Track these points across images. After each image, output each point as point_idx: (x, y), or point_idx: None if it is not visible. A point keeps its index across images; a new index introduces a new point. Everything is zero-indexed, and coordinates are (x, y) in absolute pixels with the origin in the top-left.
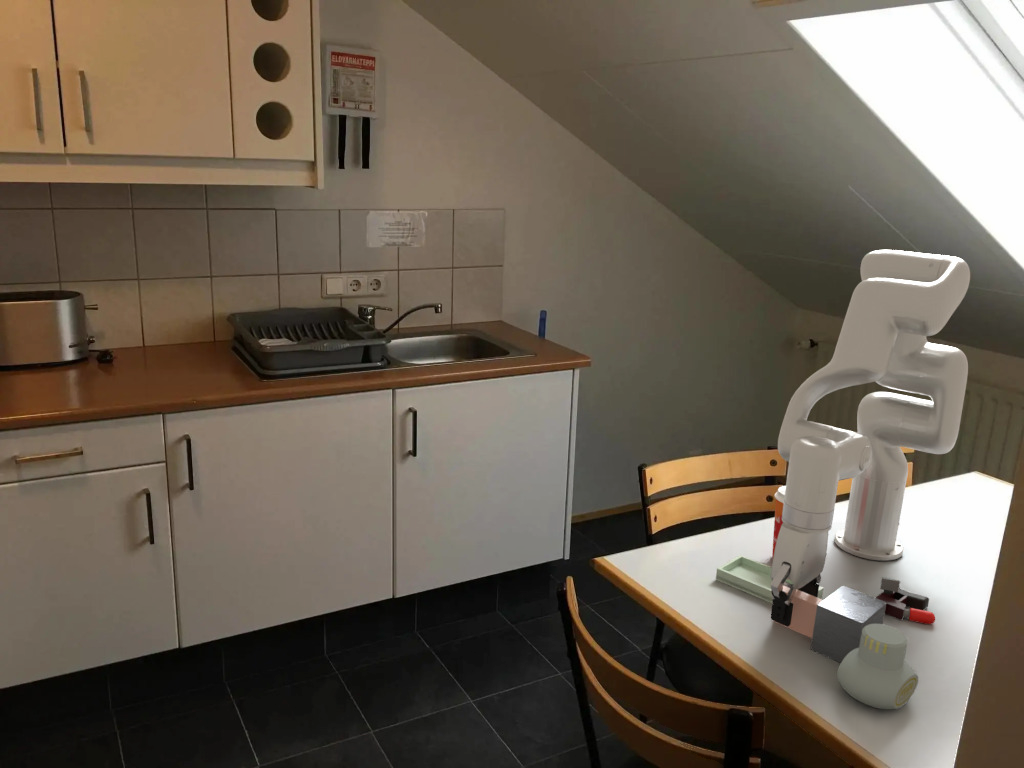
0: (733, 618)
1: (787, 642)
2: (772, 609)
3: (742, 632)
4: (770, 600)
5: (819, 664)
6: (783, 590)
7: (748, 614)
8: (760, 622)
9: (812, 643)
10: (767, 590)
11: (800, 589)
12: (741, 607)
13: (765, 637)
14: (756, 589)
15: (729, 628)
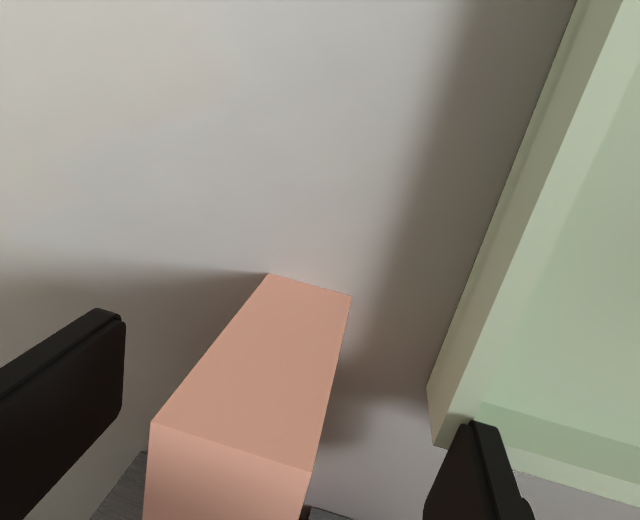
0: (136, 42)
1: (124, 365)
2: (42, 347)
3: (39, 149)
4: (502, 206)
5: (71, 482)
6: (169, 468)
7: (249, 115)
8: (208, 210)
9: (122, 481)
10: (539, 184)
11: (476, 514)
12: (311, 36)
13: (87, 269)
14: (572, 71)
15: (18, 64)
